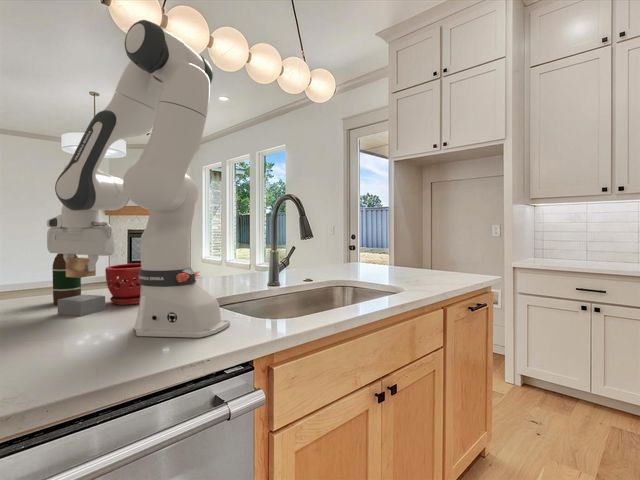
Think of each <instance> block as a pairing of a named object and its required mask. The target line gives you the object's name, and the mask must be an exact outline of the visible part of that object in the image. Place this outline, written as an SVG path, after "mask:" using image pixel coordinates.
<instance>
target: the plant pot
mask: <svg viewBox="0 0 640 480" xmlns="http://www.w3.org/2000/svg"><path fill="white" fill-rule="evenodd" d="M140 269H141V262H140V263H139V262H138V263H135V262H134V263H123V264H115V265H109V266H107V267H105V280H106V281H105V282H106V284H107V289H108V291H109V293H110V294H111V297H110V299H109V300H110V302H111V303H113V304H115V305H121V306H122V305H123V306H127V305H128V306H129V305H137V304H139V302H140V292H141V287H140V284H139V270H140Z"/></svg>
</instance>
